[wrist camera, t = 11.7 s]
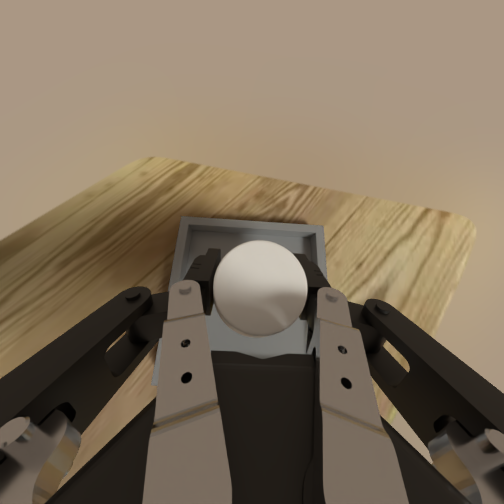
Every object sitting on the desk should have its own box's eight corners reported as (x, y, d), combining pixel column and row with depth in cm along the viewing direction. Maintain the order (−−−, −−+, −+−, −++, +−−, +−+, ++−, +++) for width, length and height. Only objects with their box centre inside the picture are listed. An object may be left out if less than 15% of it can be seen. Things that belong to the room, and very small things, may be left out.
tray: (162, 375, 15) (151, 385, 13) (187, 225, 19) (181, 216, 18) (324, 381, 16) (335, 391, 14) (315, 233, 20) (323, 225, 18)
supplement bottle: (236, 261, 16) (231, 215, 8) (285, 280, 16) (330, 252, 8) (213, 313, 15) (181, 319, 7) (267, 336, 15) (299, 368, 7)
